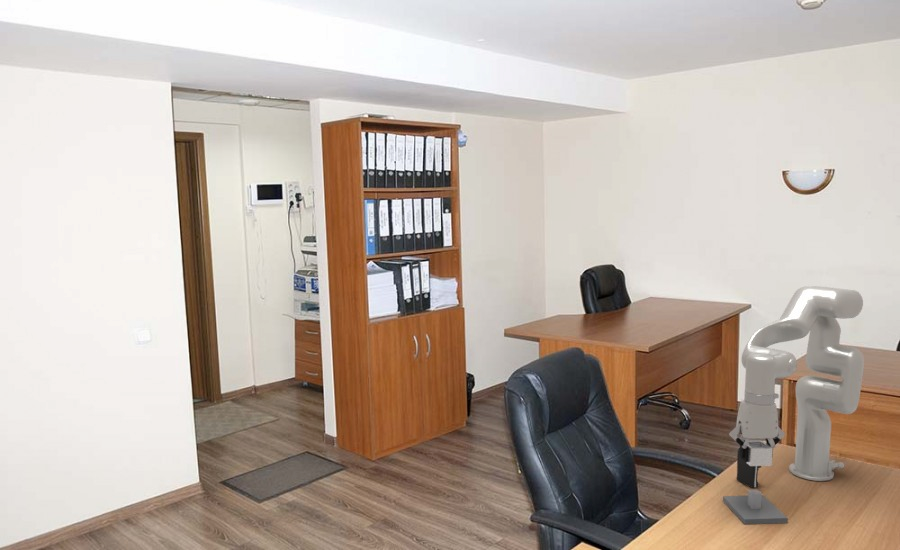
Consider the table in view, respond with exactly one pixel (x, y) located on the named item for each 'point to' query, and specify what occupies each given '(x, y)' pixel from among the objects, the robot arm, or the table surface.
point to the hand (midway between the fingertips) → (755, 459)
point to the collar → (759, 454)
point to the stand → (754, 509)
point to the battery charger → (746, 472)
